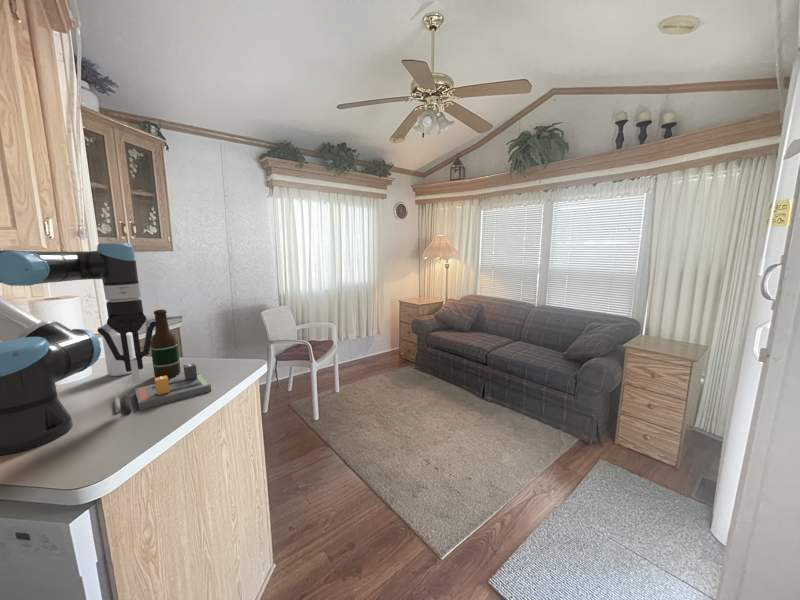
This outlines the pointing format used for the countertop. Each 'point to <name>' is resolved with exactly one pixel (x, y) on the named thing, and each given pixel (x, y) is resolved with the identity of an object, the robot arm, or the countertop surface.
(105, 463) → the countertop surface
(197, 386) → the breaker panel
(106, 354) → the white plastic bottle
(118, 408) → the cord grey near
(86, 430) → the countertop surface
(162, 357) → the beer bottle
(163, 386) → the block
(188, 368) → the block
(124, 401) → the cord black near
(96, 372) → the countertop surface
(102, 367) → the countertop surface
